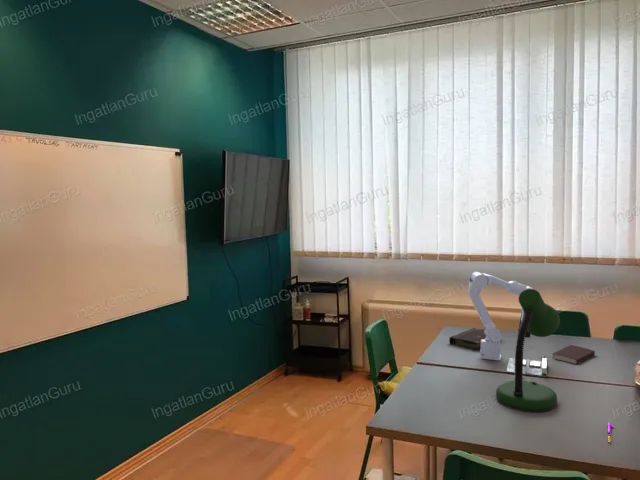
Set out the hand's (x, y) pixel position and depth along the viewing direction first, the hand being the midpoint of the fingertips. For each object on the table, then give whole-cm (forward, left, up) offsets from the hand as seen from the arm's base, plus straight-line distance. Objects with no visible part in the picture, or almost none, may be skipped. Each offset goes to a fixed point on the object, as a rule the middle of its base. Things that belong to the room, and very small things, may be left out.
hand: (527, 337), depth 256 cm
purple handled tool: (+30, -75, -11) cm, 81 cm away
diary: (-27, +18, -11) cm, 34 cm away
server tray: (0, -16, -10) cm, 19 cm away
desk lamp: (+3, -51, -11) cm, 52 cm away
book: (+21, +9, -11) cm, 26 cm away
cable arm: (+8, -17, -9) cm, 21 cm away
